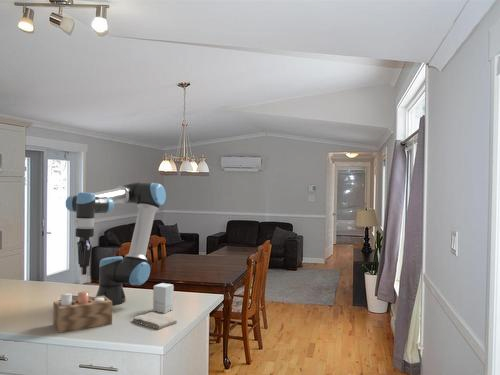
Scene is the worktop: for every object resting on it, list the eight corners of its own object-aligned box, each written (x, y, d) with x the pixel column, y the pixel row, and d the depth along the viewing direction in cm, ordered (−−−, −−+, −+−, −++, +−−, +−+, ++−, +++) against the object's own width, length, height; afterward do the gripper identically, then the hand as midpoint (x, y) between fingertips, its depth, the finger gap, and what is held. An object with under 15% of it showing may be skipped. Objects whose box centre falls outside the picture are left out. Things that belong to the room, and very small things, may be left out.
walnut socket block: (103, 316, 211) (104, 295, 211) (112, 324, 201) (112, 301, 201) (53, 324, 198) (53, 301, 198) (59, 332, 189) (59, 308, 188)
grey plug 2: (102, 316, 207) (102, 297, 207) (105, 319, 203) (105, 299, 203) (92, 318, 204) (92, 298, 204) (95, 320, 201) (95, 300, 201)
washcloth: (150, 316, 215) (150, 310, 215) (178, 324, 205) (178, 317, 205) (130, 322, 206) (130, 315, 206) (159, 331, 195) (159, 323, 195)
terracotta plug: (86, 311, 203) (87, 291, 203) (89, 313, 199) (89, 293, 199) (76, 312, 200) (76, 292, 200) (79, 315, 197) (79, 294, 197)
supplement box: (173, 309, 226) (174, 284, 226) (164, 313, 219) (165, 287, 219) (161, 307, 229) (162, 282, 229) (152, 311, 222) (152, 285, 222)
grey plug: (70, 313, 199) (70, 292, 199) (72, 316, 195) (73, 295, 195) (59, 314, 196) (59, 294, 196) (62, 317, 193) (62, 296, 193)
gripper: (71, 226, 202) (70, 279, 202) (80, 229, 191) (78, 285, 191) (88, 226, 206) (87, 278, 206) (98, 228, 196) (96, 283, 196)
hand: (83, 281), depth 199 cm, fingers closed
